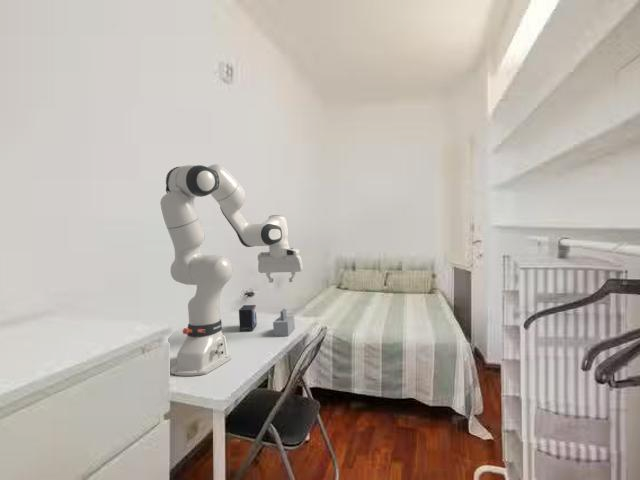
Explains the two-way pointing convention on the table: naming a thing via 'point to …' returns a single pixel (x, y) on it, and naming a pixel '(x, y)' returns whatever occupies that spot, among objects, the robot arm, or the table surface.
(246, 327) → the small box
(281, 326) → the gray hook block
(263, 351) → the table surface
